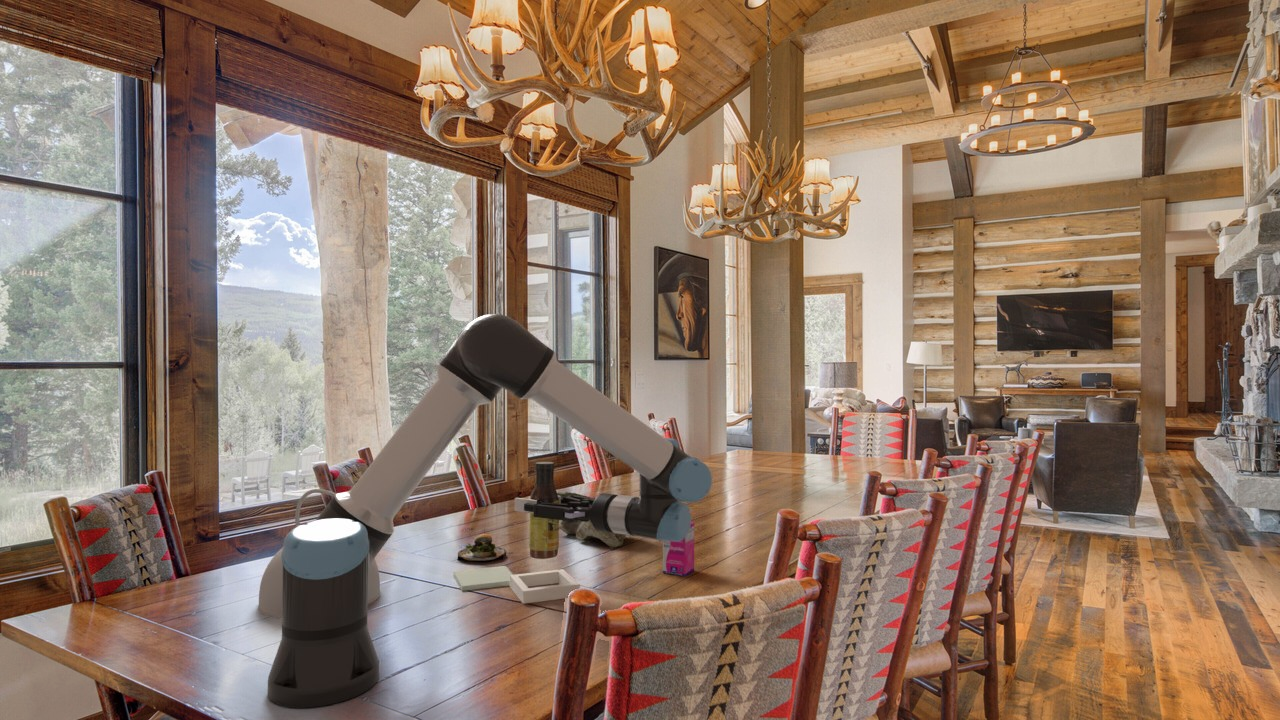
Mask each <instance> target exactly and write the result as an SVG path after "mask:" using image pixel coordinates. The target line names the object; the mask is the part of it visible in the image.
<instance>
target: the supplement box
mask: <svg viewBox="0 0 1280 720" xmlns="http://www.w3.org/2000/svg"><path fill="white" fill-rule="evenodd" d="M694 571H695V522H693V521H691V526H690V530H689V532H688V534H687V536H686V537H685V538H684V539H683V540H681V541H679V542H673V541H662V573H664V574H670V575H676V576H680V577H686V576H687V575H689V574H691V573H693V572H694Z"/></svg>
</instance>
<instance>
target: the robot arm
mask: <svg viewBox="0 0 1280 720" xmlns="http://www.w3.org/2000/svg"><path fill="white" fill-rule="evenodd" d="M436 368H437V370H436V371H437V378H436V379H435V381H434V382H433V383H432V385H431V386H430V387H429V389H428V390H427V391H426V392H425V394H423V396H422V398H421V399H420V400H419V402H418V403H417V404H416V405H415V406H414V408H413V409H412V410H411V412H410V413H409V414H408V415H407V417H406V418H405V419H404V421H403V422H402V423H401V425H400V426H399V427H398V429H397V430H396V431H395V432H394V434H393V435H392V436H391V438H389V440H388V441H387V442H386V444H385V445H384V446H383V448H382V449H381V450H380V452H378V454H377V455H376V457H375V458H374V460H373V461H372V462H371V463H370V464H369V466H368V467H367V468H366V470H365V471H364V472H363V474H362V475H361V476H360V477H359V479H358V480H357V481H356V482H355V484H354V485H353V486H352V488H351V489H350V490H348V491H343V492H337V493H336V495H335V496H334V497H332V498H331V500H330V501H329V502H328V504H326V506H325V508H324V509H322V511H321V512H320V514H319V515H318V516H317V518H316V519H315V520H312V521H308V522H306V523H304V524H300V525H299V526H297V527H296V526H295V527H294V528H292V529H291V530H290V531H289V532H288V533H287V534H286V535H285V537H284V540H283V547H282V548H283V550H282V554H281V559H282V564H283V590H282V618H281V640H280V643H279V645H278V649H277V651H276V654H275V657H274V660H273V662H272V664H271V669H270V671H269V675H268V678H267V697H268V699H269V700H270V701H271V702H272V703H274V704H276V705H279V706H282V707H285V708H286V707H287V708H316V707H322V706H328V705H334V704H337V703H341V702H343V701H347V700H350V699H352V698H355V697H357V696H360V695H361V694H363V693H365V692H367V691H369V690H370V689H371V688H373V687H374V686H375V685H376V683H377V682H378V680H379V678H380V661H379V656H378V655H377V651H376V649H375V645H374V643H373V640H372V637H371V633H370V631H369V628H368V627H369V626H368V605H367V597H368V572H369V567H370V564H371V562H372V561H373V559H375V558H376V556H377V555H378V554H379V553H380V551H381V550H382V548H383V547H384V546H385V545H386V543H387V542H388V541H389V539H390V538H391V537H392V535H393V534H394V533H395V528H394V522H393V521H394V518H395V516H396V515H397V514H398V513H399V511H400V510H401V509H402V508H403V506H404V504H405V503H406V502H407V500H408V499H409V498H410V496H411V495H412V493H414V491H415V490H416V489H417V487H418V486H419V484H420V483H421V482H422V481H423V479H424V478H425V477H426V475H427V474H428V473H429V471H431V468H432V467H433V466H434V465H435V463H436V462H437V461H438V460H439V458H440V457H441V455H442V454H443V453H444V452H445V450H446V449H447V447H448V446H450V444H451V442H452V441H453V440H454V438H455V437H456V436H457V434H458V433H459V432H460V430H461V429H462V427H463V426H464V425H465V423H466V422H467V421H468V419H469V418H470V417H471V416H472V415H473V413H474V412H475V410H476V409H477V408H478V407H479V406H483V405H489V404H491V403H492V402H493V401H494V400H495V398H496V396H497V395H498V394H499V393H500V391H501V390H502V389H504V390H506V391H508V392H509V393H511V394H513V395H514V396H516V398H518V399H520V400H526V399H531V400H532V401H534V403H536V404H538V405H539V406H541V407H542V408H543V409H545V410H547V411H548V412H549V413H551V414H553V416H555V417H557V418H558V419H560V420H561V421H562V422H564V423H566V424H567V425H568V426H570V427H572V428H573V429H575V430H576V431H577V432H579V433H580V434H581V435H583V436H585V437H586V438H587V439H589V440H590V441H591V442H593V443H594V444H596V445H598V446H599V447H600V448H602V449H603V450H605V451H606V452H608V453H609V454H611V455H612V456H614V458H617V459H618V460H620V461H621V462H622V463H624V464H625V465H627V466H628V467H629V468H631V469H632V470H634V471H635V472H637V473H638V474H639V493H638V494H639V496H631V495H623V494H619V495H618V494H612V493H606V492H603V493H600V494H598V495H597V496H596V497H591V498H589V497H590V496H587V497H583V496H584V495H583V496H576V495H570V497H568V496H562V498H561V496H558V497H559V503H544V502H541V499H537V500H531V499H530V498H525V497H524V498H523V497H515V498H514V504H513V505H514V512H521V513H527V514H530V513H532V514H533V517H539V518H547V519H555V520H563V521H567V522H570V523H572V522H574V520H580V521H583V522H588V521H589V520H590V521H591V523H592V525H593V527H594V528H595V529H596V530H598V531H603V532H610V533H613V532H614V533H618V534H626V539H627V538H630V537H631V536H633V537H639V538H645V539H649V540H656V541H659V542H663V541H673V542H679V541H681V540H683V539H684V538H685V537H686V536H687V534H688V532H689V530H690V526H691V522H692V514H691V509H690V506H688V505H689V504H690V503H691V504H692V503H697V502H699V501H701V500H703V499H704V498H705V497H707V495H708V494H709V492H710V490H711V488H712V485H713V477H712V473H711V470H710V468H709V467H708V466H707V465H706V463H704V462H703V461H701V460H700V459H699V458H697V457H692V456H690V455H689V454H687V453H686V452H685V451H684V450H682V449H681V448H680V447H679V442H678V441H679V440H677V439H675V438H671V437H664V436H662V435H661V434H660V433H658V432H657V431H656V430H654V429H653V428H651V427H650V426H648V425H647V424H645V423H644V422H643V421H641V420H640V419H638V418H637V417H636V416H634V415H633V414H631V413H630V412H629V411H628V410H626V409H625V408H623V407H622V406H620V405H619V404H618V403H616V402H615V401H613V400H612V399H611V398H609V397H608V396H606V395H605V394H603V393H602V392H601V391H599V390H598V388H595V387H594V386H592V385H591V384H590V383H588V382H587V381H586V380H584V379H583V378H581V377H580V376H579V375H577V374H576V373H574V372H573V371H572V370H570V369H569V368H567V367H566V366H565V365H564V364H562V363H561V362H559V361H558V360H557V355H556V351H554V350H553V349H551V348H550V347H549V346H547V345H546V344H545V343H543V342H542V341H541V340H540V339H539V338H538V337H536V336H535V335H534V334H532V333H531V332H530V330H527V328H526V327H525V326H523V325H522V324H521V323H519V322H518V321H517V320H515V319H514V318H512V317H510V316H508V315H505V314H501V313H490V314H489V313H488V314H484V315H481V316H479V317H477V318H475V319H474V320H472V321H471V322H469V323H468V324H466V325H465V326H464V327H463V328H462V329H461V330H460V332H459V333H458V335H457V337H456V339H455V341H454V342H453V343H452V345H451V346H450V347H449V348H448V349H447V351H446V352H445V353H444V355H443V356H442V357H441V359H440V360H439V361H438V362H437V364H436ZM687 503H689V504H687Z"/></svg>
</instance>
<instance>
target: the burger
mask: <svg viewBox="0 0 1280 720" xmlns="http://www.w3.org/2000/svg"><path fill="white" fill-rule="evenodd" d="M485 531H486V528H484V530H483V532H485ZM473 543H474V544H472V545H471V544H470V542H468V543H467V544H468V545H465V546H464V547H465V548H463V549H462V550H460V551H458V552H457V558H456V559H457V560H459V559H460V558H461V559H464V560H467V561H476V562H479V561H483V562H485V561H491V560H495V559H499V558H500V557H502V560H503V561H504V560H506V558H507V551H506V549H505V548H502V547H499V546H496V544H495V543H493V537H492V536H491V535H490V534H487V533H482V534H479V535H477V536H476V537H475V539H474V542H473Z"/></svg>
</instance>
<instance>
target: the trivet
mask: <svg viewBox="0 0 1280 720" xmlns="http://www.w3.org/2000/svg"><path fill="white" fill-rule="evenodd" d="M452 573H453V575H452V576H453V578H454V579H455V582H456V583H457V584H458V586H459V589H460V590H461V592H465V591H474V590H482V589H483V590H484V589H490V588H491V589H492V588H498V587H499V588H500V587H507V586H510V575H514V574H513V573H512V571H511V570H510V569H509V568H508V567H507V566H506V565H502V566H501V565H499V566H491V567H481V568H473V569H463V570H455V571H453V572H452Z"/></svg>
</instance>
